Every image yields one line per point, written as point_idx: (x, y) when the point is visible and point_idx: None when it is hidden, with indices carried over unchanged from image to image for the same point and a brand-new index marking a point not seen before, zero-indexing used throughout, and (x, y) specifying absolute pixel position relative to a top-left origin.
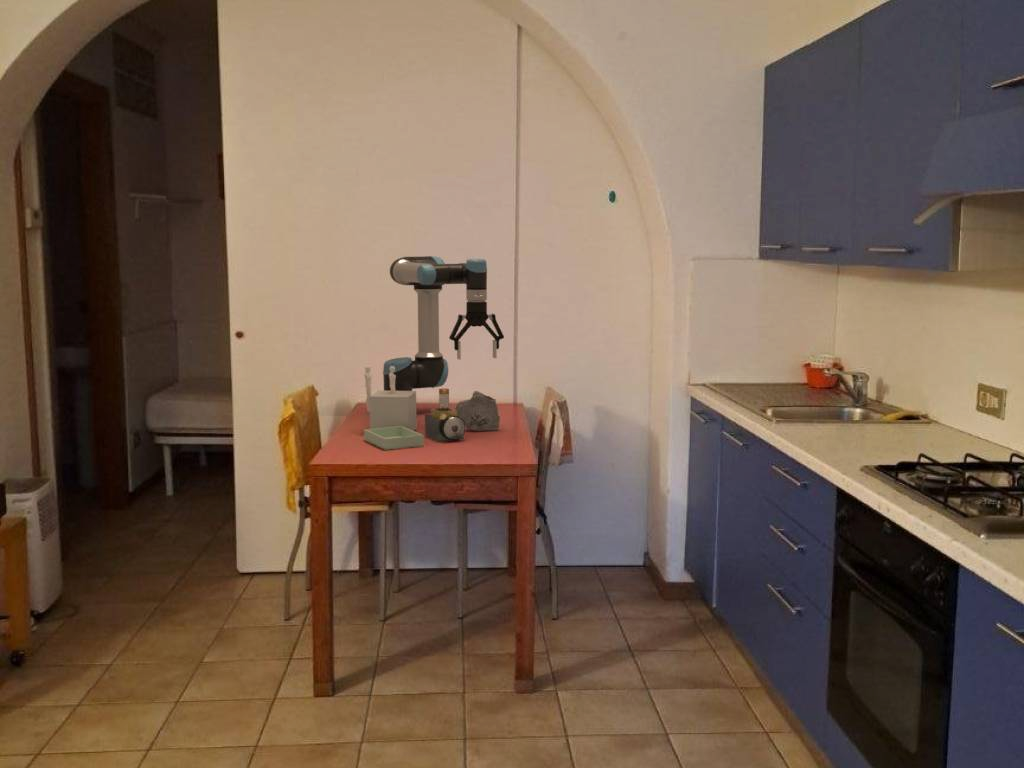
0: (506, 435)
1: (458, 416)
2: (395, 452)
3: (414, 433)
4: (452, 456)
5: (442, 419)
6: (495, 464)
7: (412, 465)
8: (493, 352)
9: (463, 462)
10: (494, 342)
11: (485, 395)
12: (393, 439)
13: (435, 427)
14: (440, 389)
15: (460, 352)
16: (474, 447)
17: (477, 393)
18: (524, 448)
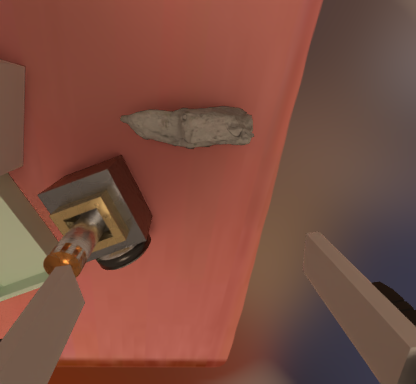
0: (242, 188)
1: (133, 224)
2: (28, 300)
3: (40, 251)
4: (128, 326)
5: (93, 255)
6: (185, 362)
7: (72, 365)
8: (324, 273)
9: (144, 353)
10: (378, 378)
11: (222, 139)
12: (6, 297)
13: None
14: (49, 269)
15: (63, 346)
16: (167, 277)
17: (194, 142)
18: (245, 288)
